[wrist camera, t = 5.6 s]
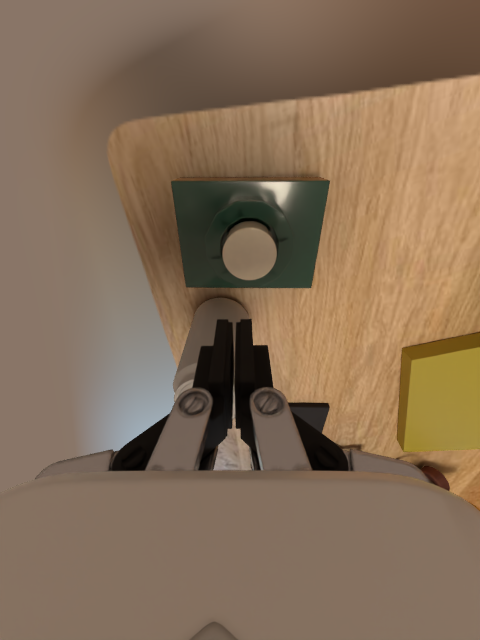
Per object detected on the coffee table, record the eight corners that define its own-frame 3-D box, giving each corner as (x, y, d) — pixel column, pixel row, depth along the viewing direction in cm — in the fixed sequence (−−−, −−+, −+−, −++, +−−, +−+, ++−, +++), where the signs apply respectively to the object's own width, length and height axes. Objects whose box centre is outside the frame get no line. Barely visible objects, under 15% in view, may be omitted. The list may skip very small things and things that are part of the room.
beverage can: (250, 338, 31) (252, 426, 21) (199, 340, 31) (178, 427, 22) (247, 292, 27) (248, 373, 18) (190, 295, 28) (159, 376, 18)
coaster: (253, 441, 44) (254, 446, 44) (255, 402, 38) (256, 406, 37) (316, 442, 44) (317, 447, 44) (328, 403, 38) (329, 407, 37)
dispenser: (191, 274, 26) (181, 298, 22) (179, 177, 21) (163, 183, 17) (305, 275, 26) (316, 298, 22) (320, 176, 21) (338, 183, 17)
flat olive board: (402, 348, 31) (396, 446, 44) (411, 360, 30) (402, 459, 42) (513, 325, 29) (473, 436, 42) (531, 337, 27) (483, 449, 40)
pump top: (225, 270, 21) (223, 280, 19) (223, 220, 19) (221, 227, 17) (272, 270, 21) (274, 280, 19) (276, 220, 19) (279, 227, 17)
